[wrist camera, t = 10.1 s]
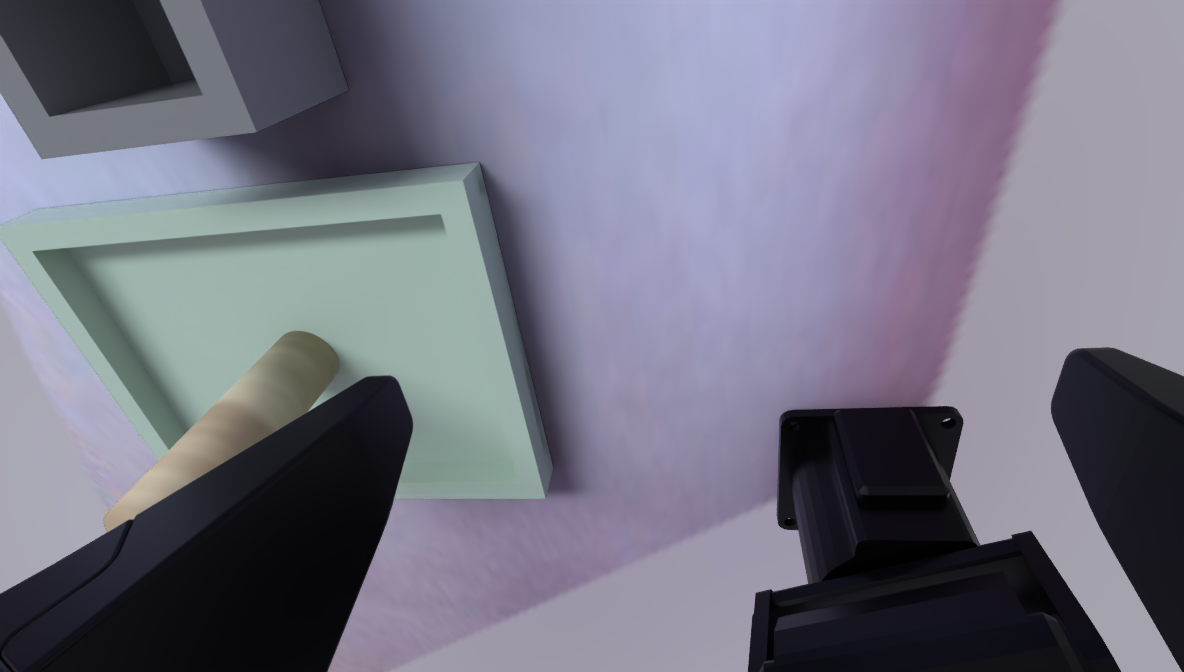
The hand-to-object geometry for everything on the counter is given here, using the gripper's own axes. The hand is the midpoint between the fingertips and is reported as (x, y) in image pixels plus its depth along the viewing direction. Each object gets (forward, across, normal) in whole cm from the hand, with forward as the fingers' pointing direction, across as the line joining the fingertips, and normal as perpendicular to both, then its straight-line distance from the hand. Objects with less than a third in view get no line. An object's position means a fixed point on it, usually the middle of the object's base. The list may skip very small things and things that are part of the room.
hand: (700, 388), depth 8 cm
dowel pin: (+12, +16, +7) cm, 21 cm away
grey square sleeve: (+12, +14, -6) cm, 20 cm away
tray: (+12, +16, +7) cm, 21 cm away
